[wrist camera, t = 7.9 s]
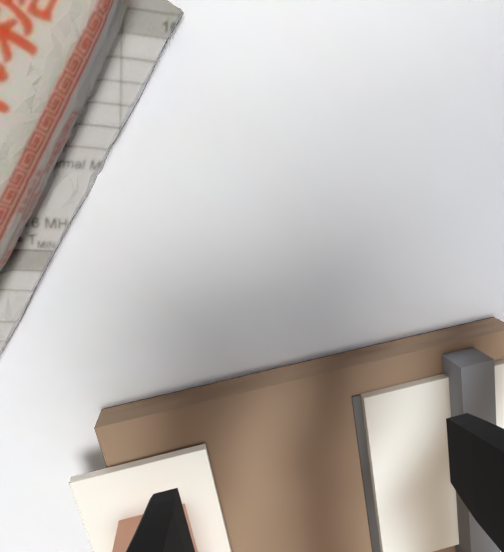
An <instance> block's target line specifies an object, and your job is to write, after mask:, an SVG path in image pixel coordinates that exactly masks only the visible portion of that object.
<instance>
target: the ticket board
mask: <svg viewBox="0 0 504 552" xmlns="http://www.w3.org/2000/svg"><path fill="white" fill-rule="evenodd" d="M465 413H469V414H471V415H474V416H476V417H479V418H481V419H483V420H486V421H488V422H490V423H492V424H494V425H497V426H499V427H501V428H503V429H504V322H503V321H500V320H498V319H496V318H494V317H492V318H488V319H483V320H479V321H475V322H471V323H466V324H462V325H458V326H454V327H449V328H445V329H441V330H437V331H433V332H428V333H424V334H420V335H416V336H411V337H407V338H403V339H399V340H394V341H390V342H386V343H382V344H377V345H373V346H369V347H365V348H360V349H356V350H352V351H348V352H343V353H339V354H335V355H331V356H326V357H322V358H318V359H314V360H309V361H305V362H301V363H297V364H293V365H288V366H284V367H280V368H276V369H271V370H267V371H263V372H259V373H254V374H250V375H246V376H242V377H237V378H233V379H229V380H225V381H220V382H216V383H212V384H208V385H203V386H199V387H195V388H191V389H186V390H182V391H178V392H174V393H169V394H165V395H161V396H157V397H153V398H148V399H144V400H140V401H136V402H131V403H127V404H123V405H119V406H114V407H110V408H106V409H102V410H101V413H100V415H99V418H98V420H97V423H96V425H95V428H94V429H95V432H96V435H97V438H98V441H99V444H100V447H101V451H102V454H103V457H104V460H105V463H106V466H107V468H109V467H113V466H117V465H121V464H125V463H129V462H133V461H137V460H141V459H145V458H149V457H153V456H157V455H161V454H165V453H169V452H173V451H177V450H181V449H185V448H189V447H193V446H197V445H201V444H206V448H207V452H208V456H209V460H210V464H211V468H212V473H213V477H214V481H215V485H216V489H217V493H218V497H219V501H220V505H221V509H222V513H223V517H224V522H225V526H226V530H227V534H228V538H229V542H230V546H231V550H232V552H500V549H499V548H498V547H497V546H496V544H495V543H494V542H493V541H492V540H491V538H490V537H489V536H488V535H487V534H486V532H485V531H484V530H483V529H482V527H481V526H480V525H479V524H478V523H477V521H476V520H475V519H474V517H473V516H472V514H471V513H470V511H469V510H468V508H467V507H466V505H465V504H464V503H463V501H462V499H461V498H460V496H459V495H458V493H457V492H456V490H455V489H454V487H453V485H452V484H451V482H450V469H449V454H448V439H447V424H446V418H450V417H454V416H458V415H462V414H465Z"/></svg>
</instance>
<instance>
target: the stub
mask: <svg viewBox="0 0 504 552" xmlns="http://www.w3.org/2000/svg"><path fill="white" fill-rule="evenodd" d="M69 485H70V488H71V491H72V494H73V497H74V499H75V502H76V505H77V508H78V511H79V513H80V516H81V519H82V522H83V525H84V528H85V530H86V533H87V536H88V539H89V542H90V544H91V547H92V550H93V552H126V550H127V548H128V546H129V544H130V542H131V540H132V538H133V536H134V533H135V531H136V529H137V527H138V525H139V523H140V520H141V518H142V516H143V514H144V511H145V509H146V507H147V505H148V502H149V500H150V498H151V497H152V495H153V494H155V493H159V492H163V491H166V490H170V489H174V488H178V491H179V495H180V498H181V502H182V506H183V509H184V513H185V516H186V520H187V524H188V527H189V531H190V535H191V538H192V542H193V546H194V549H195V552H232V550H231V546H230V542H229V538H228V534H227V530H226V526H225V522H224V517H223V513H222V509H221V505H220V501H219V497H218V493H217V489H216V485H215V481H214V477H213V473H212V468H211V464H210V460H209V456H208V452H207V448H206V444H201V445H197V446H193V447H189V448H185V449H181V450H177V451H173V452H169V453H165V454H161V455H157V456H153V457H149V458H145V459H141V460H137V461H133V462H129V463H125V464H121V465H117V466H113V467H109V468H105V469H101V470H97V471H93V472H89V473H85V474H81V475H77V476H73V477H71V479H70V482H69Z"/></svg>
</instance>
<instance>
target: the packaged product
mask: <svg viewBox="0 0 504 552" xmlns="http://www.w3.org/2000/svg"><path fill="white" fill-rule="evenodd" d="M182 15H183V12H182V10H181V9H180V8H178V7H176V6H174V5H173V4H171V3H170V2H169V1H168V0H0V354H1V352H2V351H3V349H4V347H5V346H6V344H7V342H8V340H9V339H10V337H11V335H12V333H13V332H14V330H15V328H16V327H17V325H18V323H19V321H20V320H21V318H22V316H23V314H24V311H25V309H26V307H27V305H28V302H29V300H30V298H31V295H32V293H33V291H34V289H35V288H36V286H37V284H38V282H39V280H40V278H41V276H42V275H43V273H44V271H45V269H46V267H47V265H48V263H49V262H50V260H51V258H52V256H53V254H54V252H55V250H56V249H57V247H58V245H59V243H60V241H61V239H62V238H63V236H64V234H65V232H66V230H67V228H68V226H69V224H70V222H71V220H72V218H73V217H74V215H75V214H76V212H77V211H78V209H79V208H80V206H81V204H82V203H83V201H84V200H85V198H86V197H87V195H88V194H89V192H90V190H91V188H92V186H93V184H94V182H95V180H96V177H97V175H98V174H99V173H100V171H101V169H102V167H103V165H104V162H105V160H106V157H107V155H108V152H109V150H110V147H111V145H112V143H113V142H114V141H115V139H116V137H117V136H118V134H119V132H120V130H121V129H122V127H123V125H124V124H125V122H126V120H127V118H128V117H129V115H130V113H131V112H132V110H133V108H134V106H135V105H136V103H137V101H138V99H139V98H140V96H141V94H142V92H143V90H144V88H145V86H146V84H147V81H148V79H149V77H150V75H151V73H152V71H153V69H154V67H155V64H156V62H157V60H158V58H159V56H160V54H161V52H162V49H163V47H164V45H165V43H166V41H167V39H168V38H169V36H170V34H171V33H172V31H173V30H174V28H175V26H176V25H177V23H178V21H179V20H180V18H181V17H182Z"/></svg>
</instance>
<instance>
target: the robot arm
mask: <svg viewBox="0 0 504 552" xmlns="http://www.w3.org/2000/svg"><path fill="white" fill-rule="evenodd" d="M446 424H447V439H448V454H449V469H450V482H451V484H452V485H453V487H454V489H455V490H456V492H457V493H458V495H459V496H460V498H461V499H462V501H463V503H464V504H465V505H466V507H467V508H468V510H469V511H470V513H471V514H472V516H473V517H474V519H475V520H476V521H477V523H478V524H479V525H480V526H481V527H482V529H483V530H484V531H485V532H486V534H487V535H488V536H489V537H490V538H491V540H492V541H493V542H494V543H495V544H496V546H497V547H498V548H499V549H500V550H501V552H504V429H503V428H501V427H499V426H497V425H494V424H492V423H490V422H488V421H486V420H483V419H481V418H479V417H476V416H474V415H471V414H469V413H465V414H462V415H458V416H454V417H450V418H446ZM126 552H195V549H194V546H193V542H192V538H191V535H190V531H189V527H188V524H187V520H186V516H185V513H184V509H183V506H182V502H181V498H180V495H179V491H178V488H174V489H170V490H166V491H163V492H159V493H155V494H153V495H152V497H151V498H150V500H149V502H148V505H147V507H146V509H145V511H144V514H143V516H142V518H141V520H140V523H139V525H138V527H137V529H136V531H135V533H134V536H133V538H132V540H131V542H130V544H129V546H128V548H127V550H126Z"/></svg>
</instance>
